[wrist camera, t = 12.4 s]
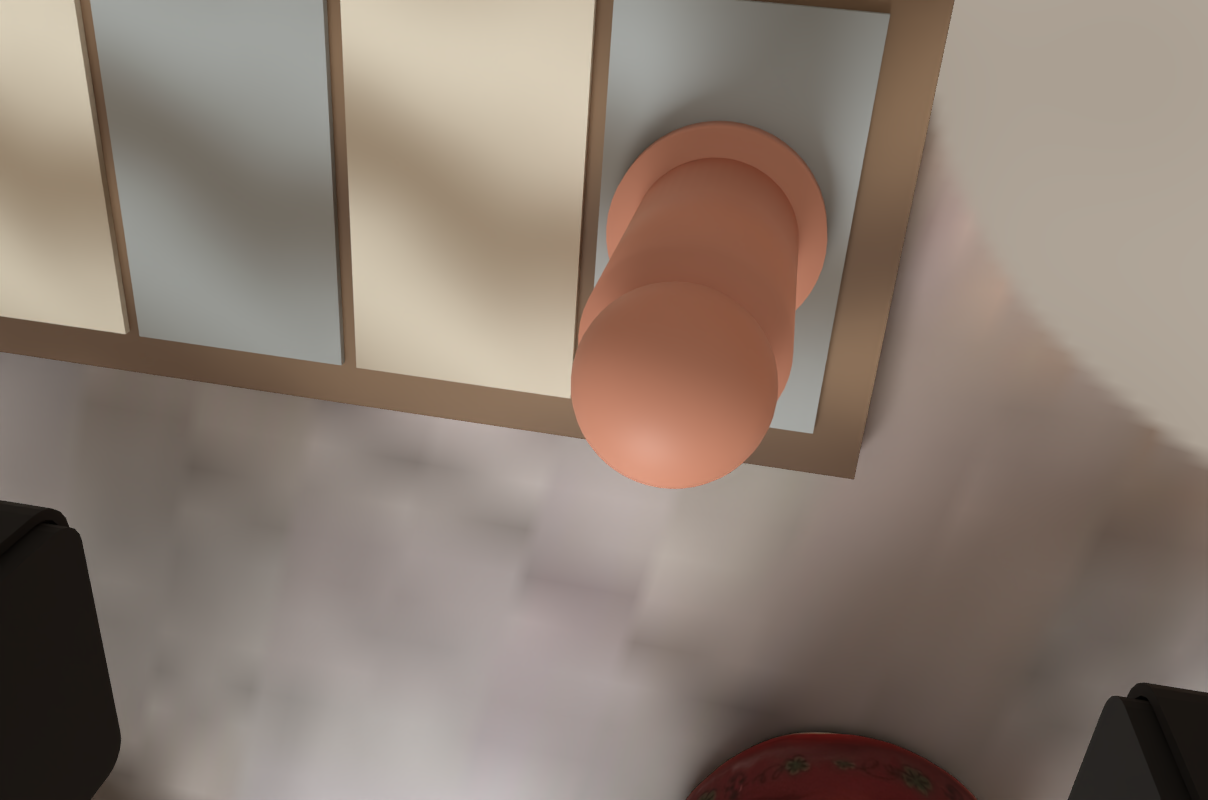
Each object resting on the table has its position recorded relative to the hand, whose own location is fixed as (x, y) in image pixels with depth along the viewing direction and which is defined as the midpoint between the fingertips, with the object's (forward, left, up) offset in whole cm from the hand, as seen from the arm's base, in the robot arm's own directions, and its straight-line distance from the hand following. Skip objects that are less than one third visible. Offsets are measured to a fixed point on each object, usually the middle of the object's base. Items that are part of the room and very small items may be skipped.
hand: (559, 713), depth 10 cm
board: (0, -9, -17) cm, 19 cm away
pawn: (0, 0, -16) cm, 16 cm away
